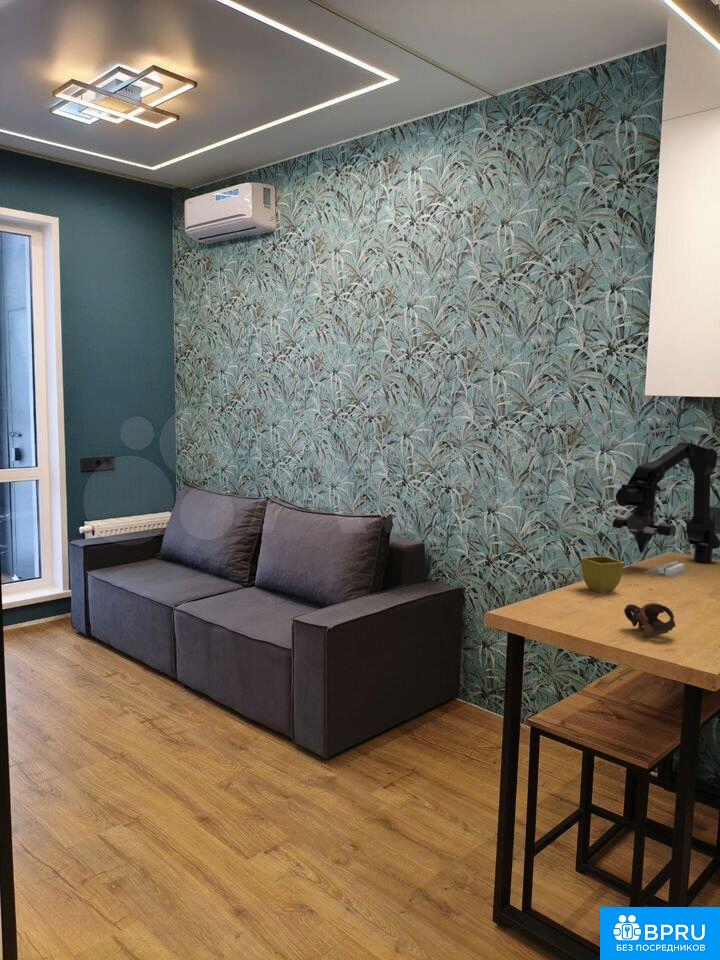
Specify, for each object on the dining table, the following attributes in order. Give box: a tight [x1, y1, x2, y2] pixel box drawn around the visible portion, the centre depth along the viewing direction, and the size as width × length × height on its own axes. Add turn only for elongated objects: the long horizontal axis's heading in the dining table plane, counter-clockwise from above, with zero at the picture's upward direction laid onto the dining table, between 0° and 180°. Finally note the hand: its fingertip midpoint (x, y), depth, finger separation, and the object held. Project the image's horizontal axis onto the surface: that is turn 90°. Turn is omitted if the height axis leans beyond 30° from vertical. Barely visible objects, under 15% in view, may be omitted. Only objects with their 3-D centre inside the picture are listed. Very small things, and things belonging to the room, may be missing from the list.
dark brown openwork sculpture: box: [623, 602, 677, 639], centre depth 179 cm, size 12×10×8 cm
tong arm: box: [659, 560, 681, 574], centre depth 238 cm, size 14×2×2 cm, turn 137°
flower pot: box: [580, 555, 625, 593], centre depth 216 cm, size 9×9×9 cm
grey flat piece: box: [644, 562, 692, 578], centre depth 239 cm, size 16×9×3 cm, turn 137°
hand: (641, 552), depth 241 cm, fingers closed
